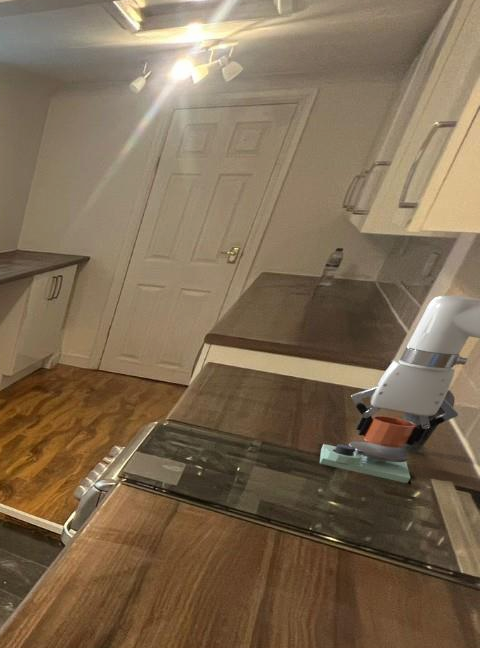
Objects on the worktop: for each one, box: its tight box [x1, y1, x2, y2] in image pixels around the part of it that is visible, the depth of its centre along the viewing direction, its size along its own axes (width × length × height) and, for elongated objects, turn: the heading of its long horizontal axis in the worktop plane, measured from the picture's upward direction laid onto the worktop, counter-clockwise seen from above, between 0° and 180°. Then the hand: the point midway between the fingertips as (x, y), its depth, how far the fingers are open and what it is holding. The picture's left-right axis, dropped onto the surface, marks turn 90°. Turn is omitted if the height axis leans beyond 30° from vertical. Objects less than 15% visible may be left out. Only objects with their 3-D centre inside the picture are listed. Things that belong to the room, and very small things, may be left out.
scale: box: [319, 443, 411, 484], centre depth 129 cm, size 14×12×3 cm
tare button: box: [334, 443, 356, 456], centre depth 128 cm, size 3×3×2 cm
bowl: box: [362, 415, 417, 449], centre depth 126 cm, size 7×7×5 cm
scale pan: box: [348, 441, 410, 464], centre depth 129 cm, size 10×10×4 cm
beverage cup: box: [391, 389, 455, 454], centre depth 135 cm, size 7×7×20 cm
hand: (384, 438), depth 127 cm, fingers closed on bowl, 7 cm apart
